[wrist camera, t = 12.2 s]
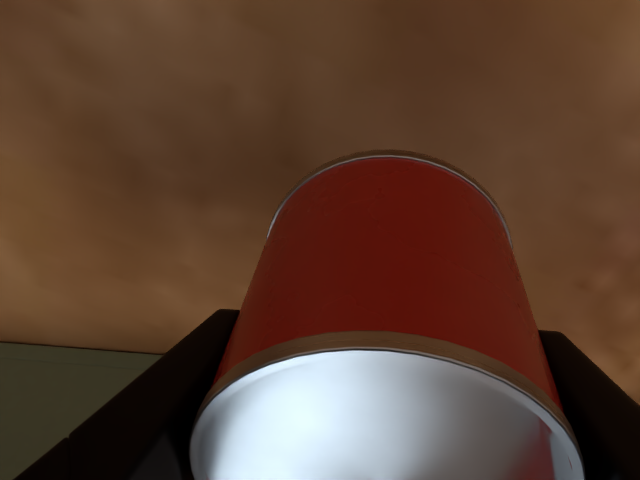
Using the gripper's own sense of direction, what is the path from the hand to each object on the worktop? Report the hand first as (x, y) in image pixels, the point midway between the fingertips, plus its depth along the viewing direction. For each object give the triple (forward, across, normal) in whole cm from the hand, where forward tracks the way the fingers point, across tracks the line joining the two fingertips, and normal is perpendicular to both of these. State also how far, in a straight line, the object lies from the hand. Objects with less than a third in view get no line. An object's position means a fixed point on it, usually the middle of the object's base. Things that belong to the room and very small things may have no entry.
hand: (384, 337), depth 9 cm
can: (+2, 0, 0) cm, 2 cm away
